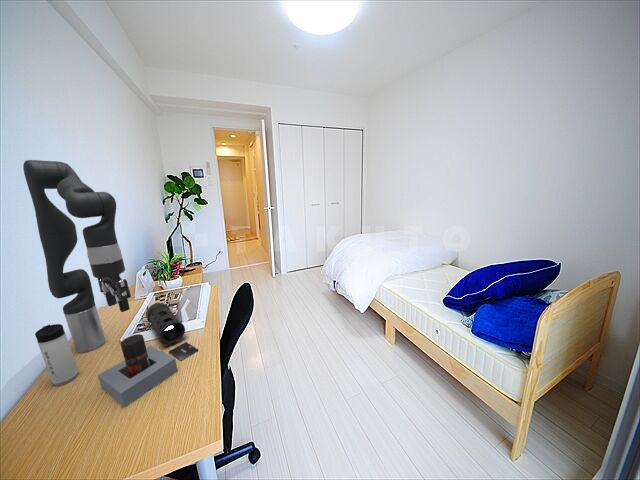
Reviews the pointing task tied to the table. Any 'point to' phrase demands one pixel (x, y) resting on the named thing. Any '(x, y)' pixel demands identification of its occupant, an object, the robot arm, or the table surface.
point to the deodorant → (135, 354)
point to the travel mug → (57, 354)
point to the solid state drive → (183, 351)
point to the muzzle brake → (165, 323)
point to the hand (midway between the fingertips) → (118, 307)
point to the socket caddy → (137, 377)
